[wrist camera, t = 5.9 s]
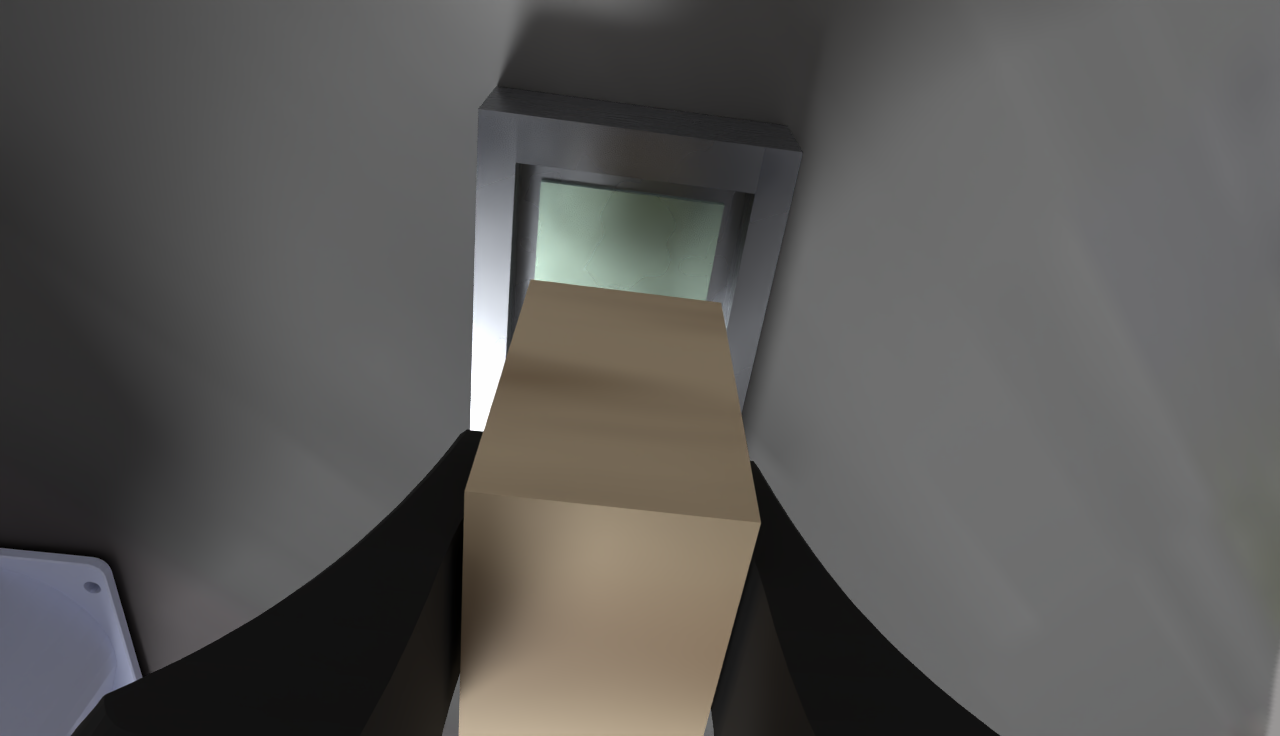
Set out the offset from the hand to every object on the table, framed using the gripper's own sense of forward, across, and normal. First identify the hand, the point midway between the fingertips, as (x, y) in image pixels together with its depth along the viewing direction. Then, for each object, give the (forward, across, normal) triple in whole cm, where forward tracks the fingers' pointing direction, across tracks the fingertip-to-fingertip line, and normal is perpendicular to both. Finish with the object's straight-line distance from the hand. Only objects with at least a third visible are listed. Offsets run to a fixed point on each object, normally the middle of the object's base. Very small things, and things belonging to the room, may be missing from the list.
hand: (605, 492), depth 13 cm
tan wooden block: (+3, 0, 0) cm, 3 cm away
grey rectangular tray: (+8, 0, +4) cm, 9 cm away
